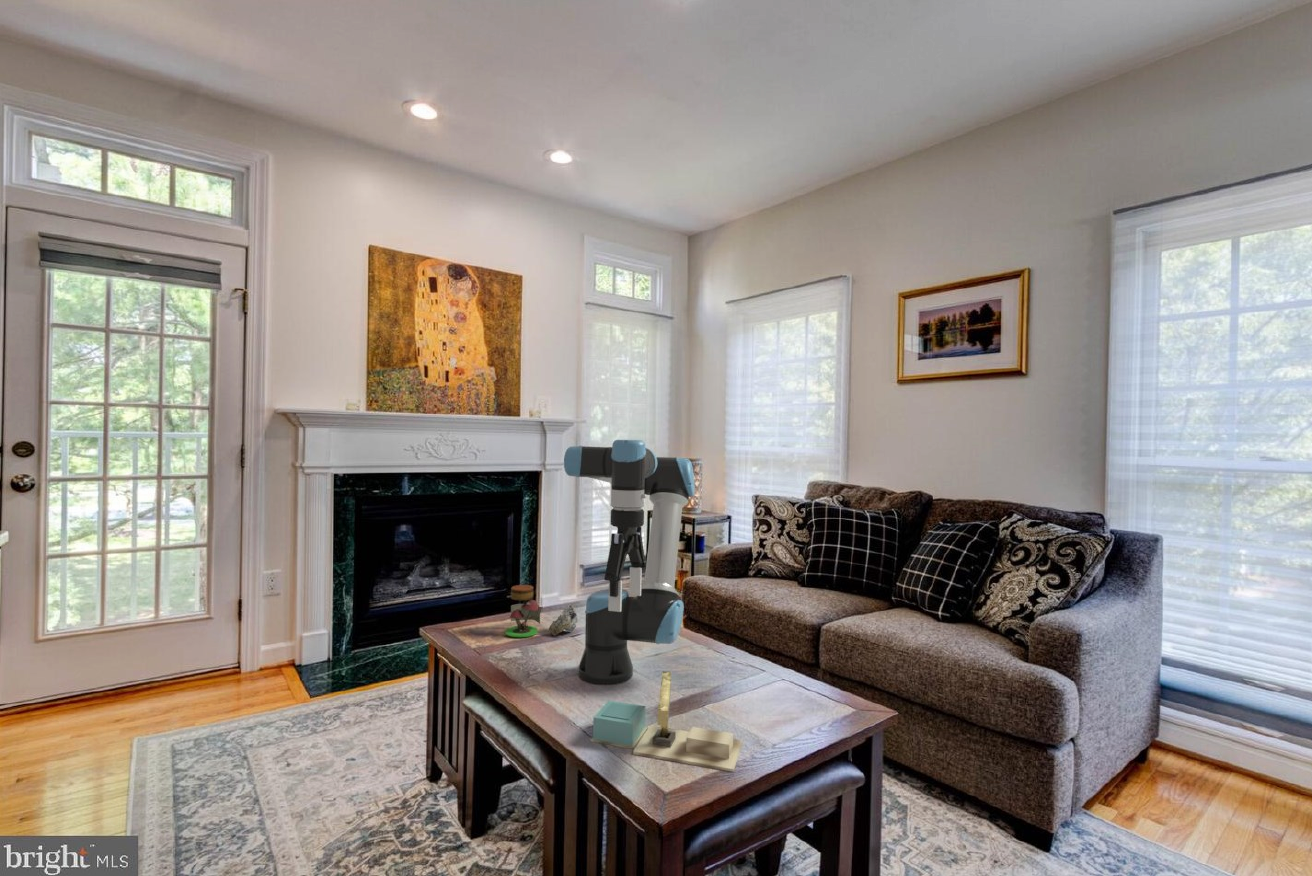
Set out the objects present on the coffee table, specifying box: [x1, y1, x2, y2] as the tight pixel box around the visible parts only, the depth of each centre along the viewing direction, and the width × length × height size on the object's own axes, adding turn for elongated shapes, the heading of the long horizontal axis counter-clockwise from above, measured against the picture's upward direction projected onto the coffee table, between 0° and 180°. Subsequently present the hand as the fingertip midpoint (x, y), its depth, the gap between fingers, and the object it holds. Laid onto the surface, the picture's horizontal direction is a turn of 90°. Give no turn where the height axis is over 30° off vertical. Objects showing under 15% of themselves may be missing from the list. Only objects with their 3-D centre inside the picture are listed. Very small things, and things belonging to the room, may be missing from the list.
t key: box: [657, 670, 672, 738], centre depth 131 cm, size 20×2×11 cm, turn 177°
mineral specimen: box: [548, 604, 579, 636], centre depth 203 cm, size 10×8×10 cm
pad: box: [589, 725, 649, 750], centre depth 135 cm, size 10×10×1 cm
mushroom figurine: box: [504, 584, 544, 638], centre depth 202 cm, size 12×13×15 cm
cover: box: [592, 700, 647, 746], centre depth 135 cm, size 9×9×5 cm
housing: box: [632, 724, 743, 772], centre depth 129 cm, size 21×12×4 cm, turn 73°
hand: (625, 602), depth 136 cm, fingers open, 13 cm apart
